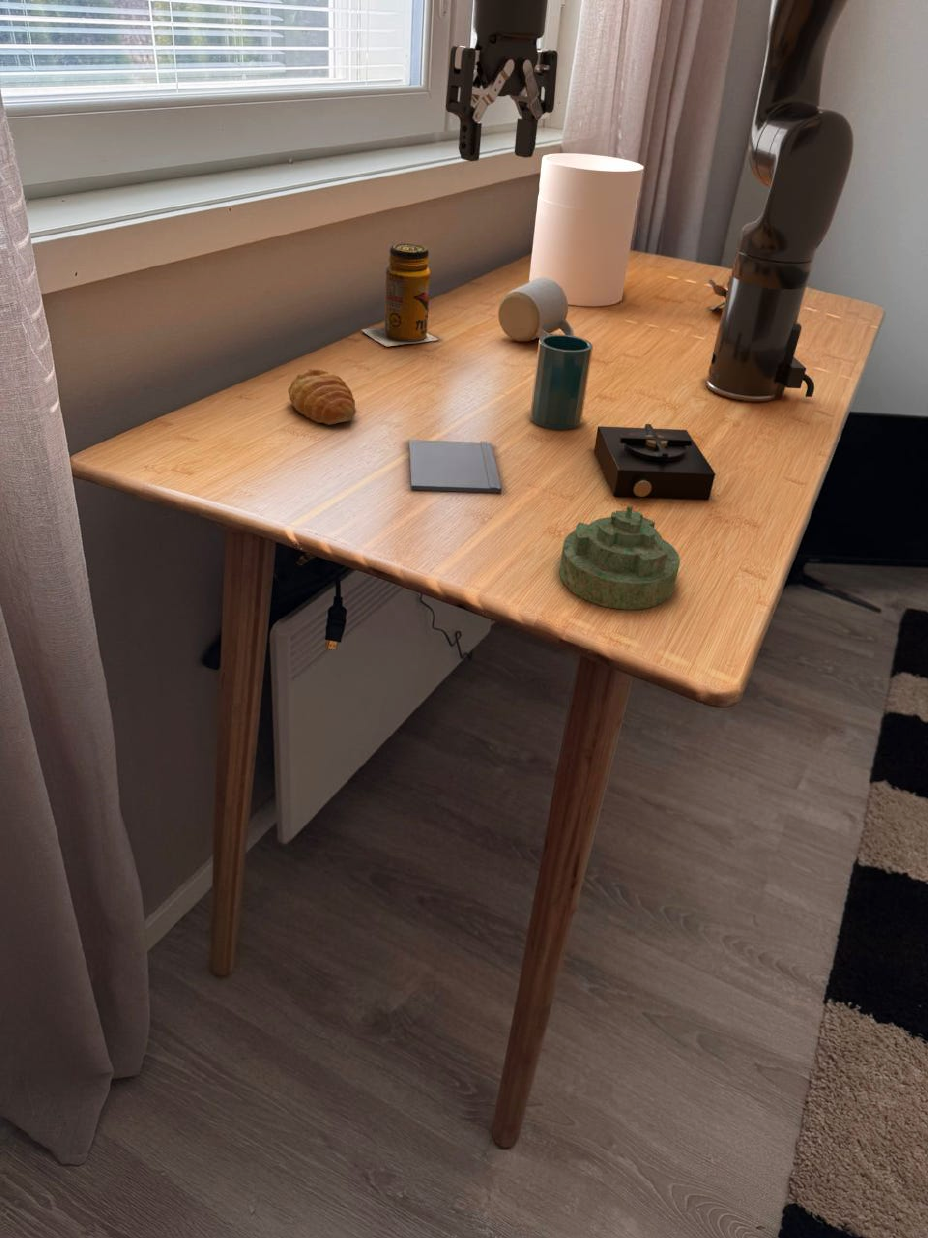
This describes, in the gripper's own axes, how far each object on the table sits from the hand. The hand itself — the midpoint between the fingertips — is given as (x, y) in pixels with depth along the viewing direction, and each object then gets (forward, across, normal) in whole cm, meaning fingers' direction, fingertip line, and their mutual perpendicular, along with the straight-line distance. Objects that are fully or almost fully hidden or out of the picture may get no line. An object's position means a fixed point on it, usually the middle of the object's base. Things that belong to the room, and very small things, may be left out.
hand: (497, 158), depth 102 cm
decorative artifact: (+26, -22, -40) cm, 53 cm away
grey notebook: (+26, -19, -15) cm, 36 cm away
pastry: (+26, -21, +4) cm, 34 cm away
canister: (+26, +45, +22) cm, 57 cm away
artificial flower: (+26, +53, -4) cm, 59 cm away
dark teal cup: (+26, 0, -13) cm, 29 cm away
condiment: (+26, +4, +20) cm, 33 cm away
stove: (+26, -3, -29) cm, 39 cm away
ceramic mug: (+26, +21, +9) cm, 35 cm away
